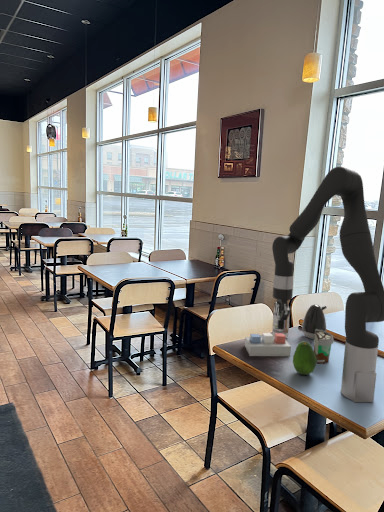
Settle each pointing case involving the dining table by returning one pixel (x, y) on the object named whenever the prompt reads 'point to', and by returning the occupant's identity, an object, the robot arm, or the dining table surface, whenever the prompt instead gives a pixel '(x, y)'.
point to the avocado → (304, 358)
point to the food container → (322, 346)
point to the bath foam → (275, 321)
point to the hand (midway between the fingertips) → (280, 328)
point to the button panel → (267, 348)
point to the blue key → (255, 338)
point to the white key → (267, 338)
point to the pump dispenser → (314, 321)
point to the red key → (279, 338)
